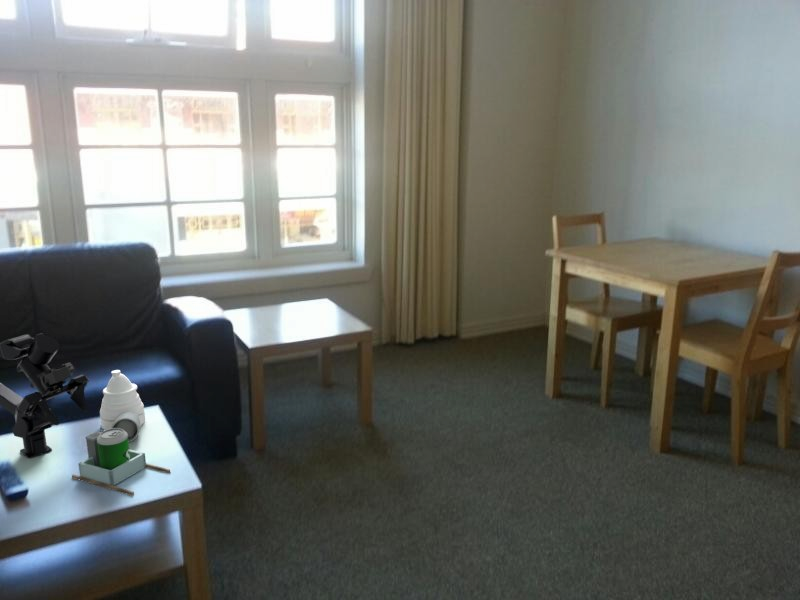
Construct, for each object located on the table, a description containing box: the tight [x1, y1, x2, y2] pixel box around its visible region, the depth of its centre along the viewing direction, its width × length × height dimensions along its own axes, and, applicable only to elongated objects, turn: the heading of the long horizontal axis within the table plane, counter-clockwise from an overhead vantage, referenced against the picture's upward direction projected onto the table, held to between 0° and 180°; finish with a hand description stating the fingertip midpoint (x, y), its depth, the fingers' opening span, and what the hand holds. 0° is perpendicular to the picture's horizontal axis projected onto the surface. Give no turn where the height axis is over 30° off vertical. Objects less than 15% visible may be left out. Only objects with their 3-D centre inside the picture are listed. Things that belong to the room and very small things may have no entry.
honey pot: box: [99, 369, 146, 431], centre depth 208 cm, size 13×13×18 cm
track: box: [71, 462, 171, 496], centre depth 177 cm, size 22×13×1 cm, turn 65°
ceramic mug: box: [111, 411, 141, 443], centre depth 199 cm, size 11×8×8 cm
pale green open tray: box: [78, 430, 147, 486], centre depth 178 cm, size 13×12×10 cm
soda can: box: [97, 428, 131, 470], centre depth 176 cm, size 8×8×12 cm
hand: (73, 417), depth 181 cm, fingers open, 9 cm apart
